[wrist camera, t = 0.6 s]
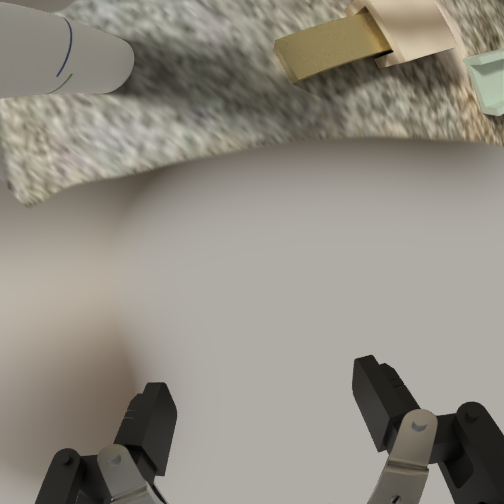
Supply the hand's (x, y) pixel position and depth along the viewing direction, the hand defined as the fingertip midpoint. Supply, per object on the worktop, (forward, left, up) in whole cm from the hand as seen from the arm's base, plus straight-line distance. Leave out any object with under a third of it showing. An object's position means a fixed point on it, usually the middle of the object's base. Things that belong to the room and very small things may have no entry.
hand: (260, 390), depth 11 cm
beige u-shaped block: (-12, +24, -24) cm, 36 cm away
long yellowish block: (-12, +19, -22) cm, 32 cm away
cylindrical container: (-24, -6, -24) cm, 35 cm away
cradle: (-2, +40, -24) cm, 47 cm away
